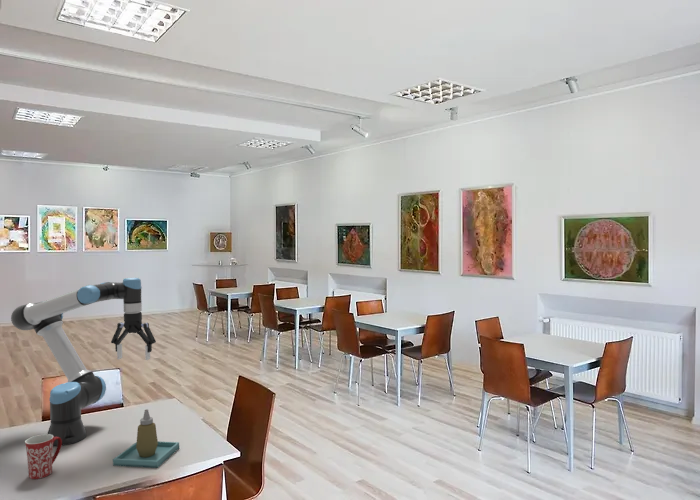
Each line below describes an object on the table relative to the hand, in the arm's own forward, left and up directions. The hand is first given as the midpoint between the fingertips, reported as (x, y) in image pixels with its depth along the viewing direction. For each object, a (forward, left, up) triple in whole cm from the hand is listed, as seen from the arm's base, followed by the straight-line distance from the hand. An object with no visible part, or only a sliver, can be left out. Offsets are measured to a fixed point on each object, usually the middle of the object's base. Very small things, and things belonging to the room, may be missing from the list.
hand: (133, 359), depth 227 cm
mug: (-11, -42, -33) cm, 54 cm away
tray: (+20, -25, -33) cm, 46 cm away
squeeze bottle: (+20, -25, -32) cm, 45 cm away
